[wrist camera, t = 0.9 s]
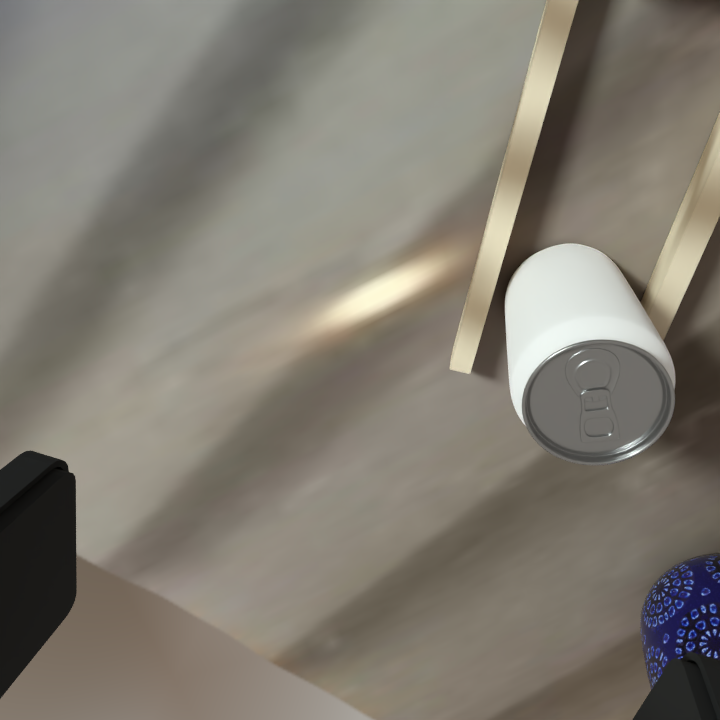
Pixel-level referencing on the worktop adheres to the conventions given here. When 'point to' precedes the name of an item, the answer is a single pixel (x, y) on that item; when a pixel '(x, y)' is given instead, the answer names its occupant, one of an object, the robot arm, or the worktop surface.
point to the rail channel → (683, 245)
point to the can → (585, 358)
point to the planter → (682, 614)
